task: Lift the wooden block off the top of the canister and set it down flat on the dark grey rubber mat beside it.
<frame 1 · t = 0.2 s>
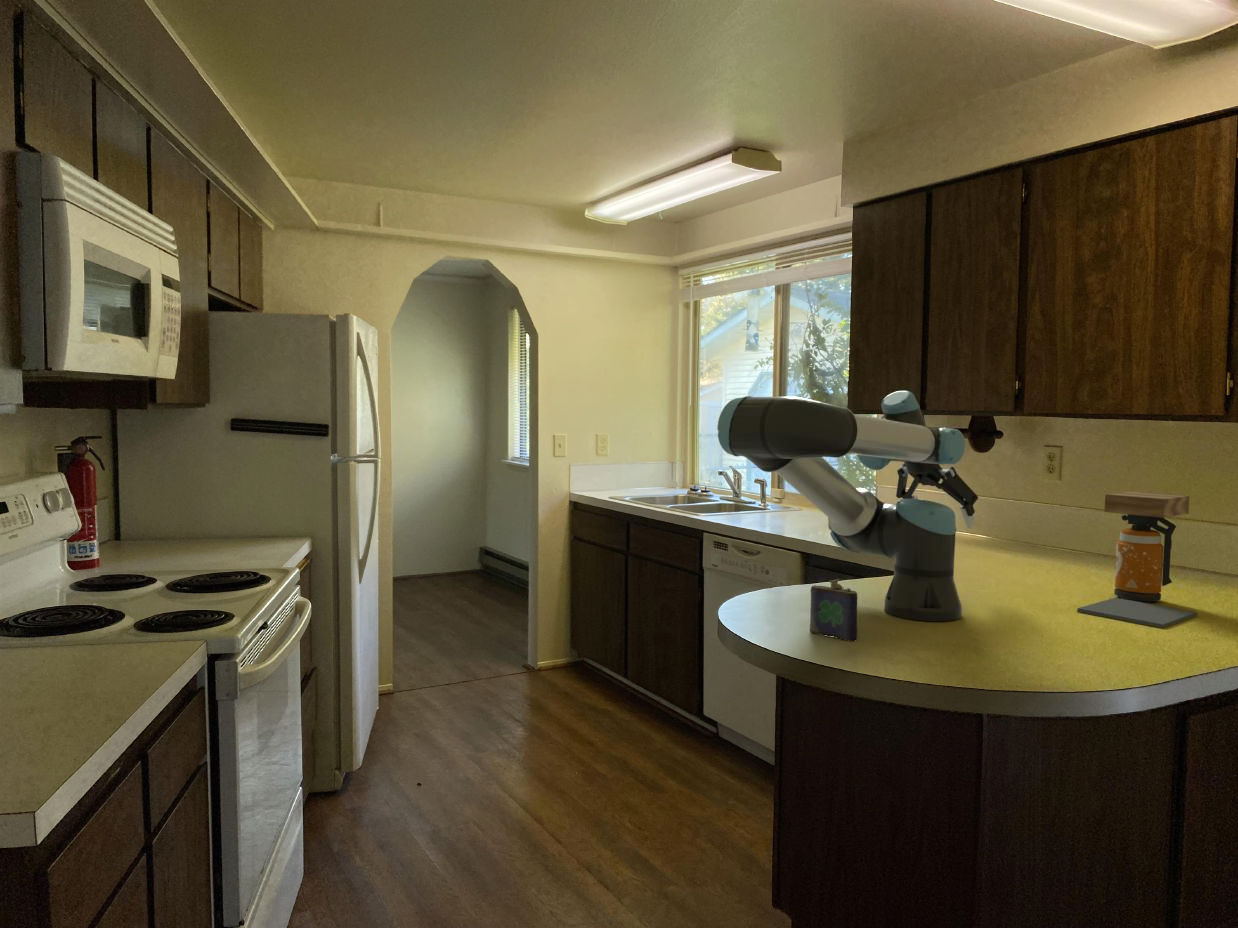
hand: (945, 521, 196), 16 cm above the countertop, tool tilted 35°, fingers open, 13 cm apart
mat: (1136, 613, 170), on the countertop
canister: (1142, 600, 184), on the countertop, touching wooden block
flask: (833, 637, 150), on the countertop
wooden block: (1146, 512, 183), point 20 cm above the countertop, touching canister
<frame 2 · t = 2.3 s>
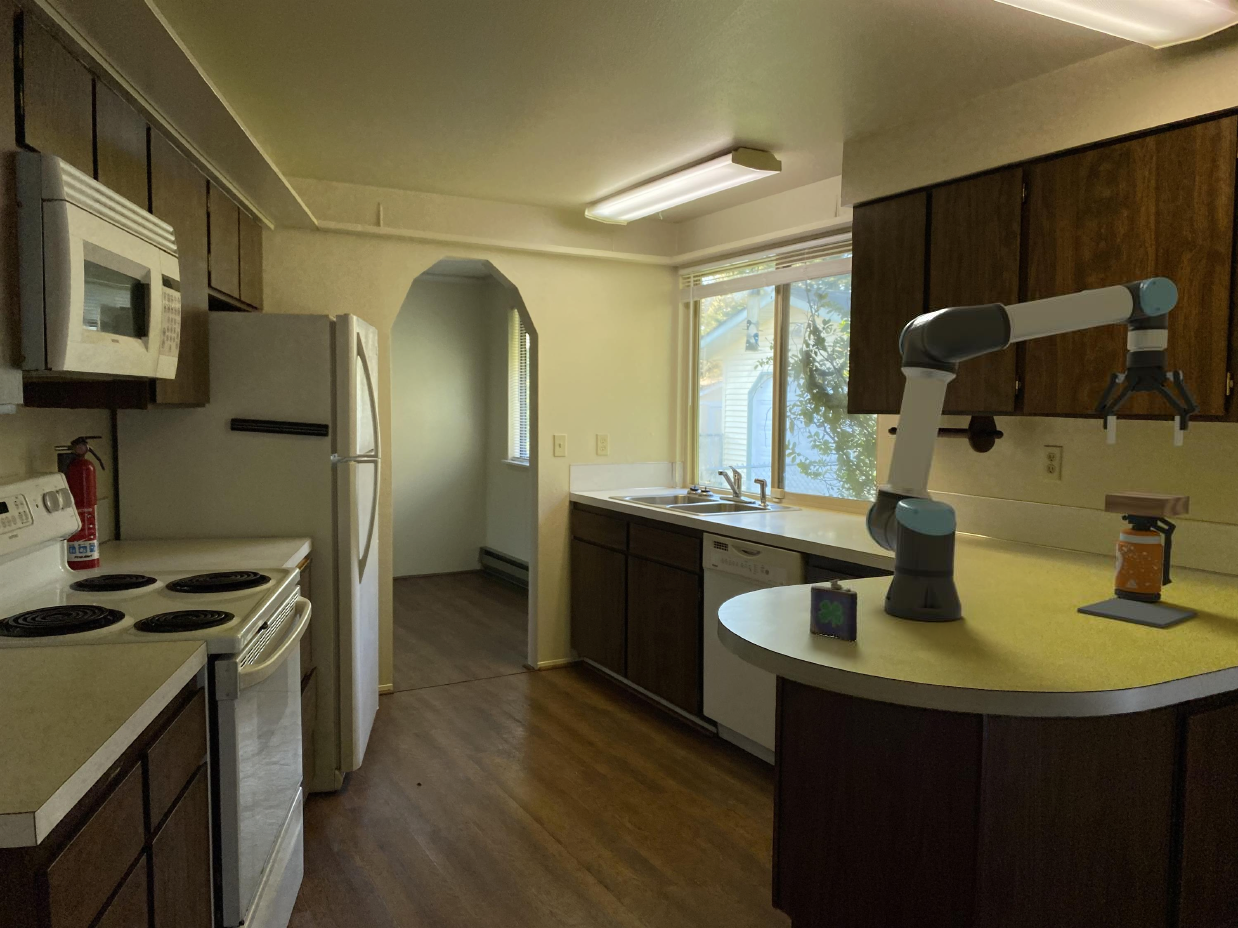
hand: (1143, 444, 182), 35 cm above the countertop, tool pointing down, fingers open, 13 cm apart
nothing on the countertop moved.
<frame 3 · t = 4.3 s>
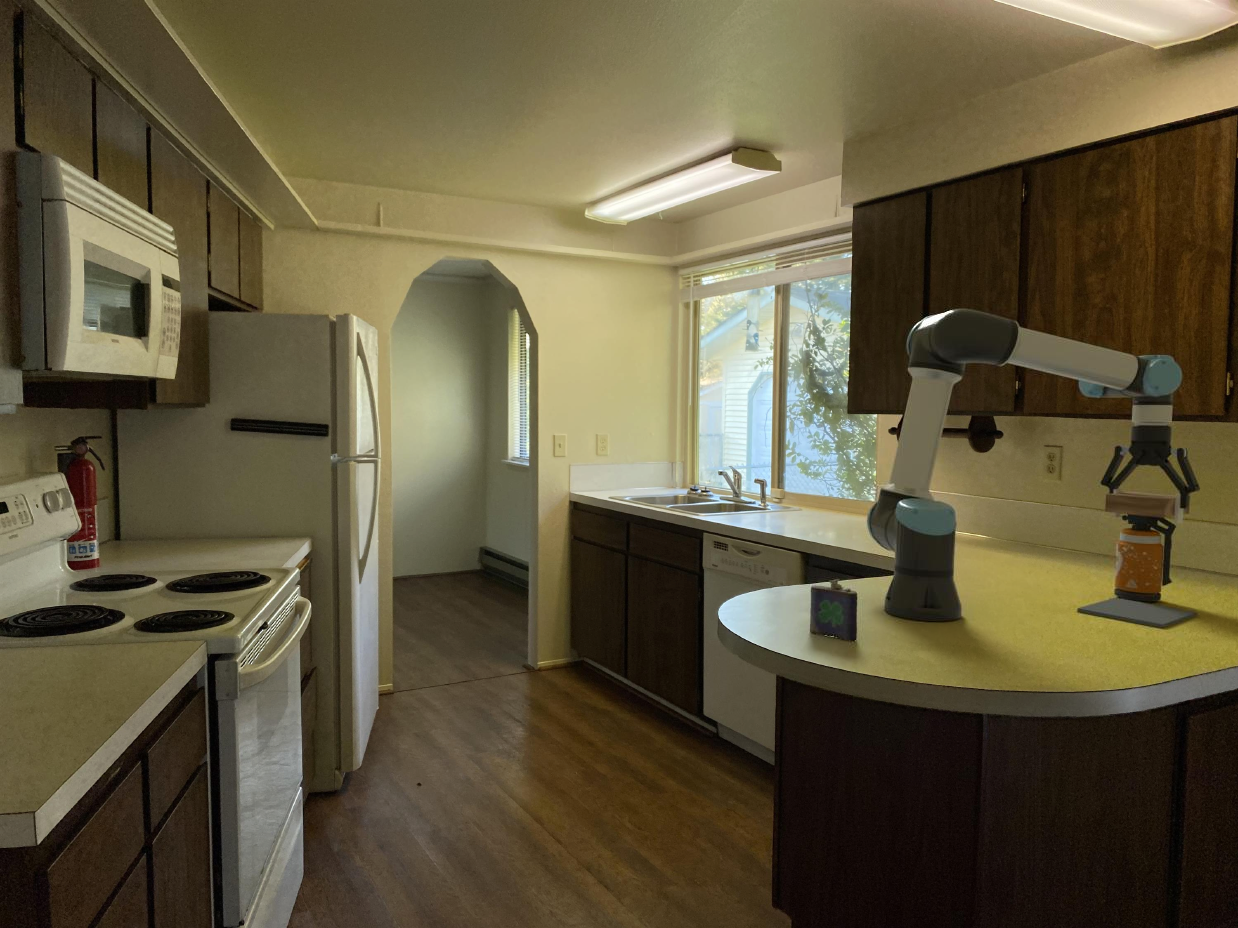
hand: (1146, 520, 183), 18 cm above the countertop, tool pointing down, fingers closed on wooden block, 12 cm apart
wooden block: (1146, 512, 182), point 20 cm above the countertop, touching canister, gripper
everything else where it was.
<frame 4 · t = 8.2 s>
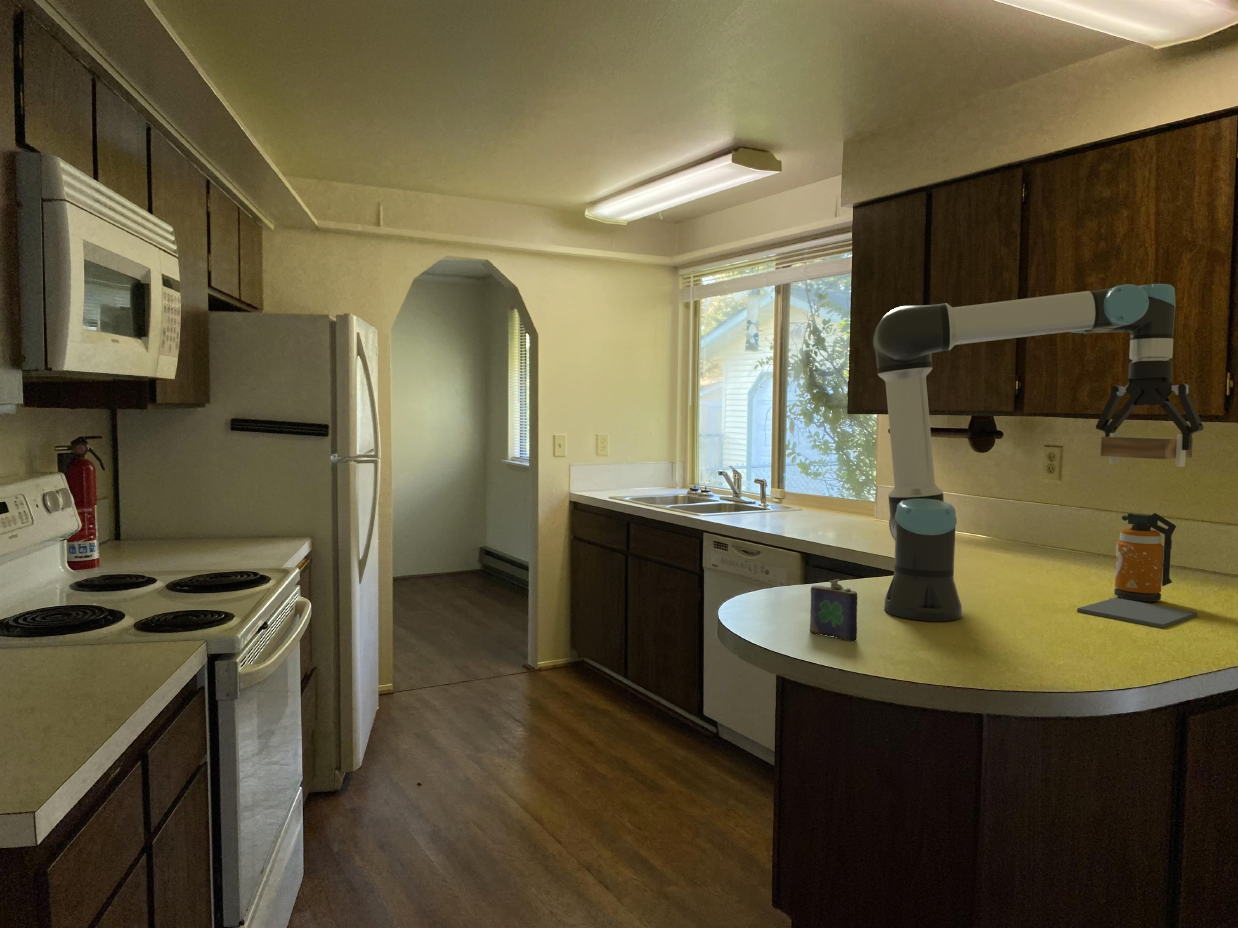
hand: (1145, 464, 168), 32 cm above the countertop, tool pointing down, fingers closed on wooden block, 12 cm apart
canister: (1142, 600, 184), on the countertop
wooden block: (1145, 456, 168), point 33 cm above the countertop, touching gripper
everything else where it was.
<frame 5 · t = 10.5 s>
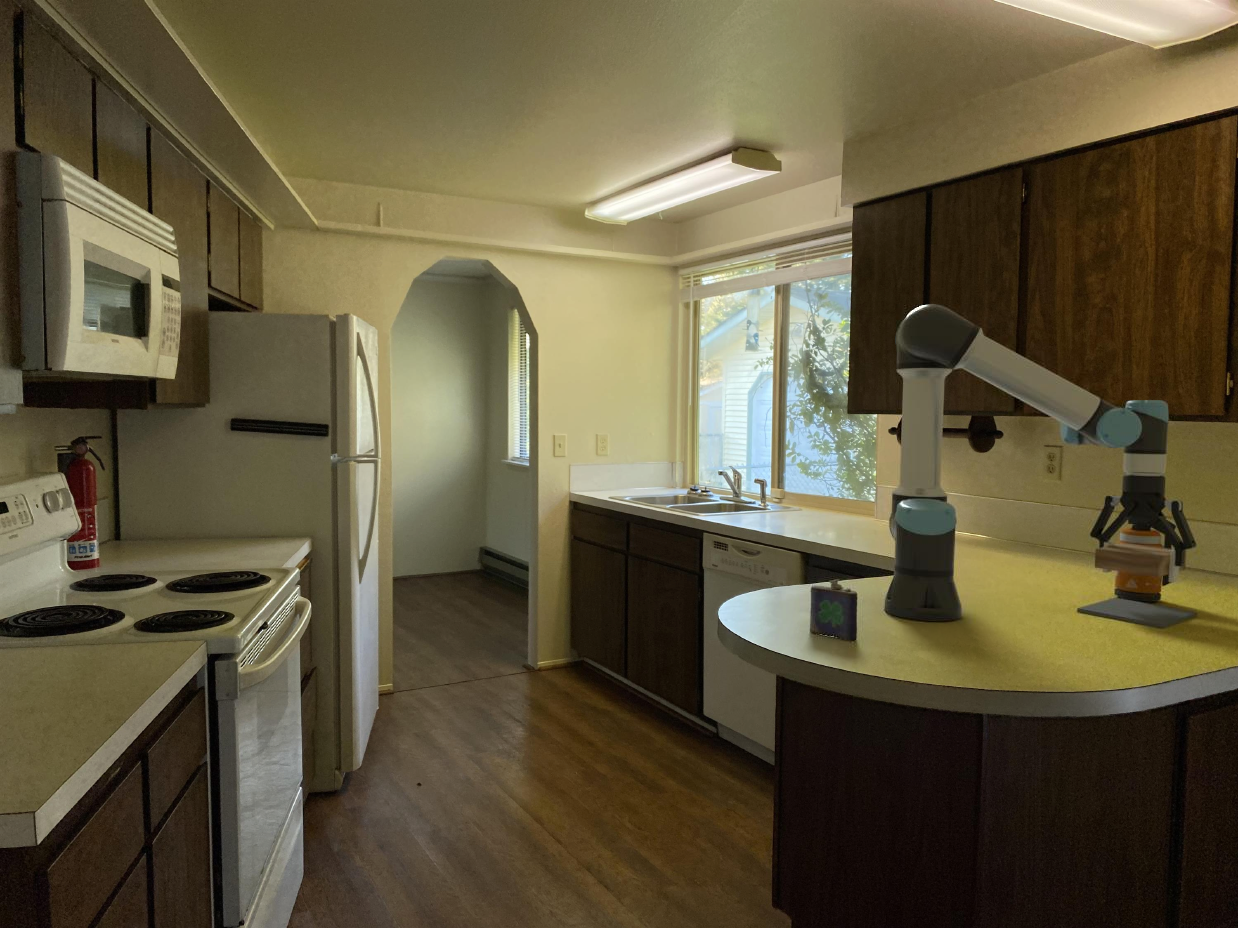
hand: (1139, 576, 170), 8 cm above the countertop, tool pointing down, fingers closed on wooden block, 12 cm apart
wooden block: (1139, 568, 170), point 10 cm above the countertop, touching gripper
everything else where it was.
when the fingers open (3 cm above the countertop, at t = 12.2 s): wooden block drops 4 cm, resting on mat.
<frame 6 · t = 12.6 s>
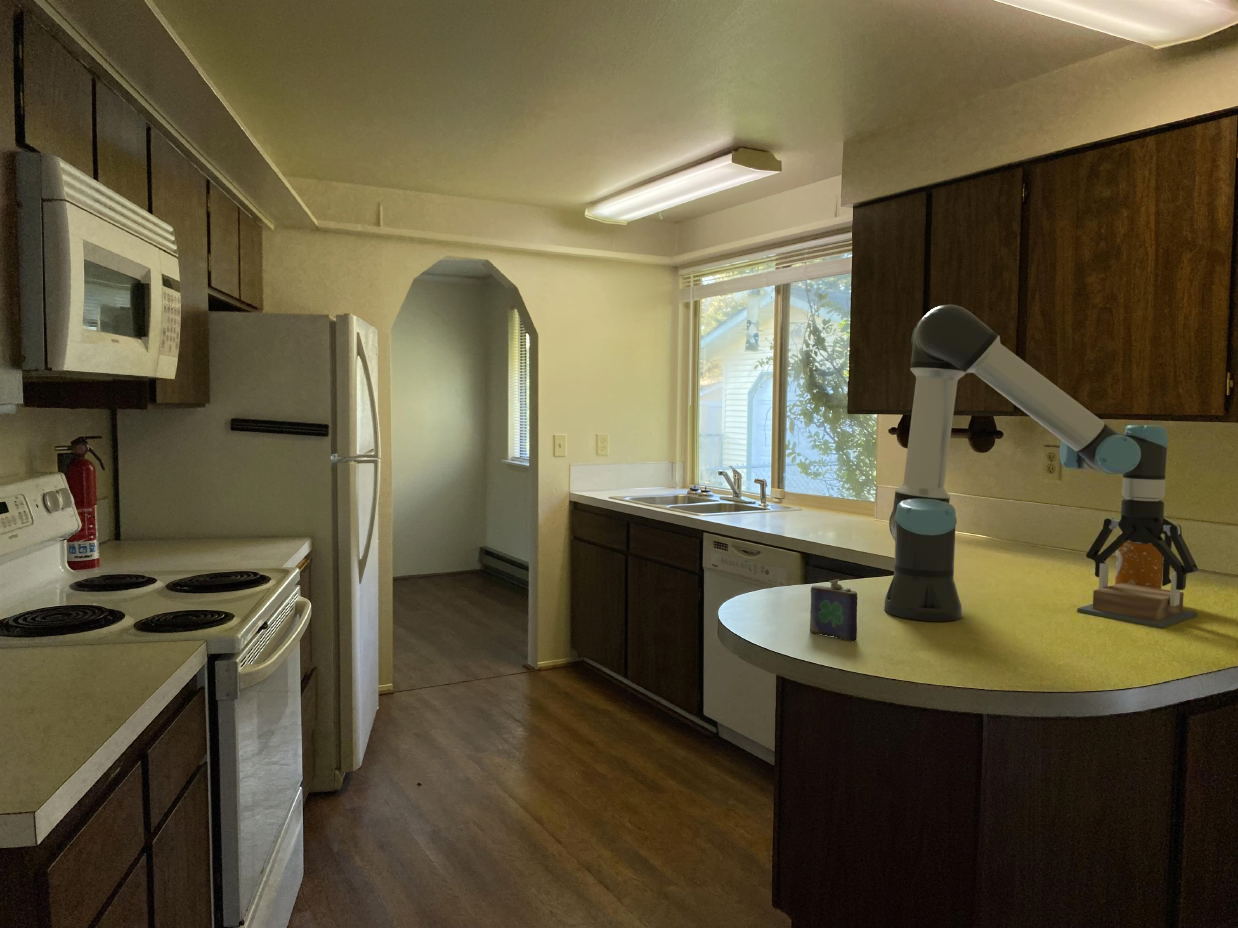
hand: (1137, 598, 170), 3 cm above the countertop, tool pointing down, fingers open, 13 cm apart
wooden block: (1137, 610, 170), point 1 cm above the countertop, touching mat
everything else where it was.
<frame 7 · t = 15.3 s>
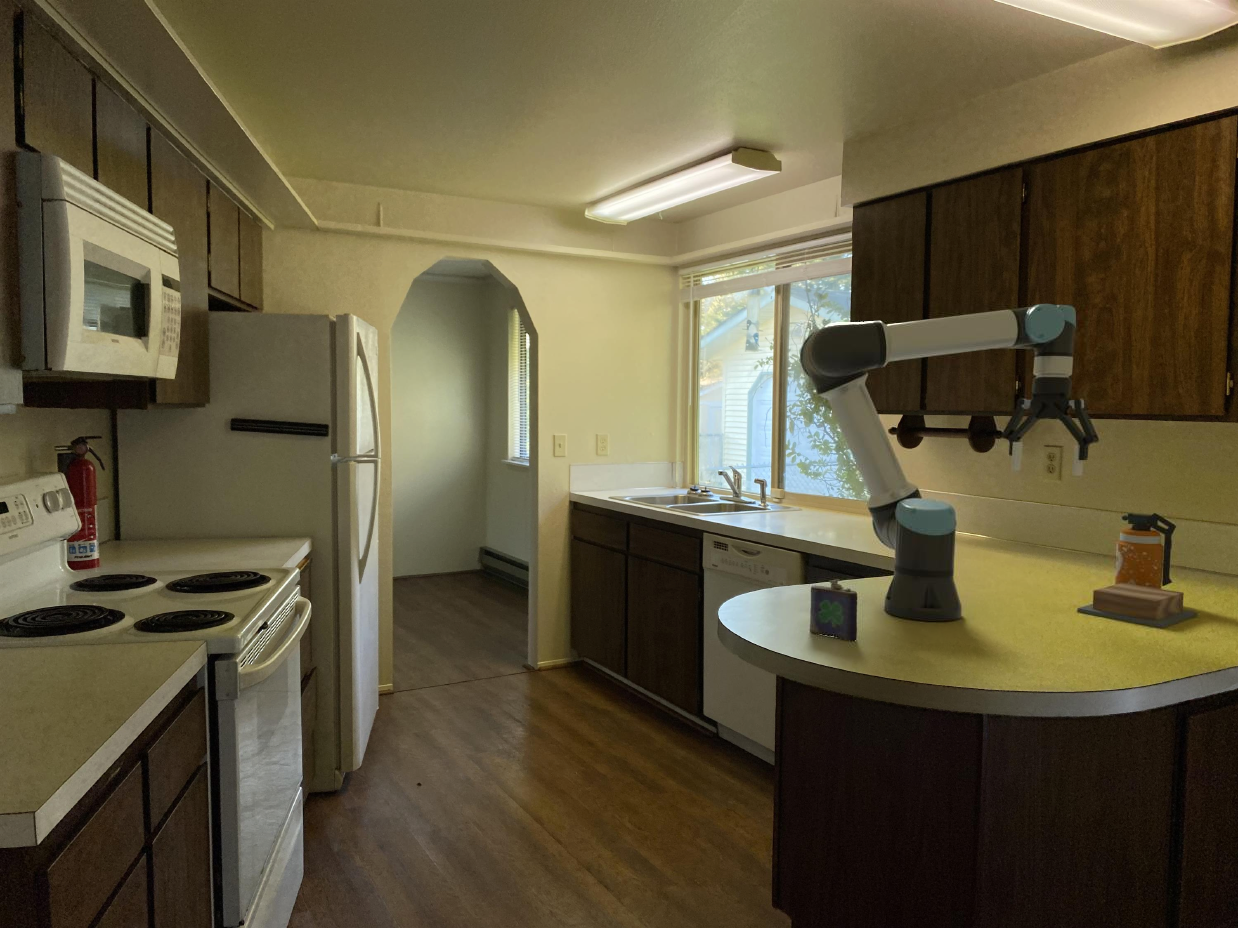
hand: (1045, 473, 179), 29 cm above the countertop, tool pointing down, fingers open, 13 cm apart
nothing on the countertop moved.
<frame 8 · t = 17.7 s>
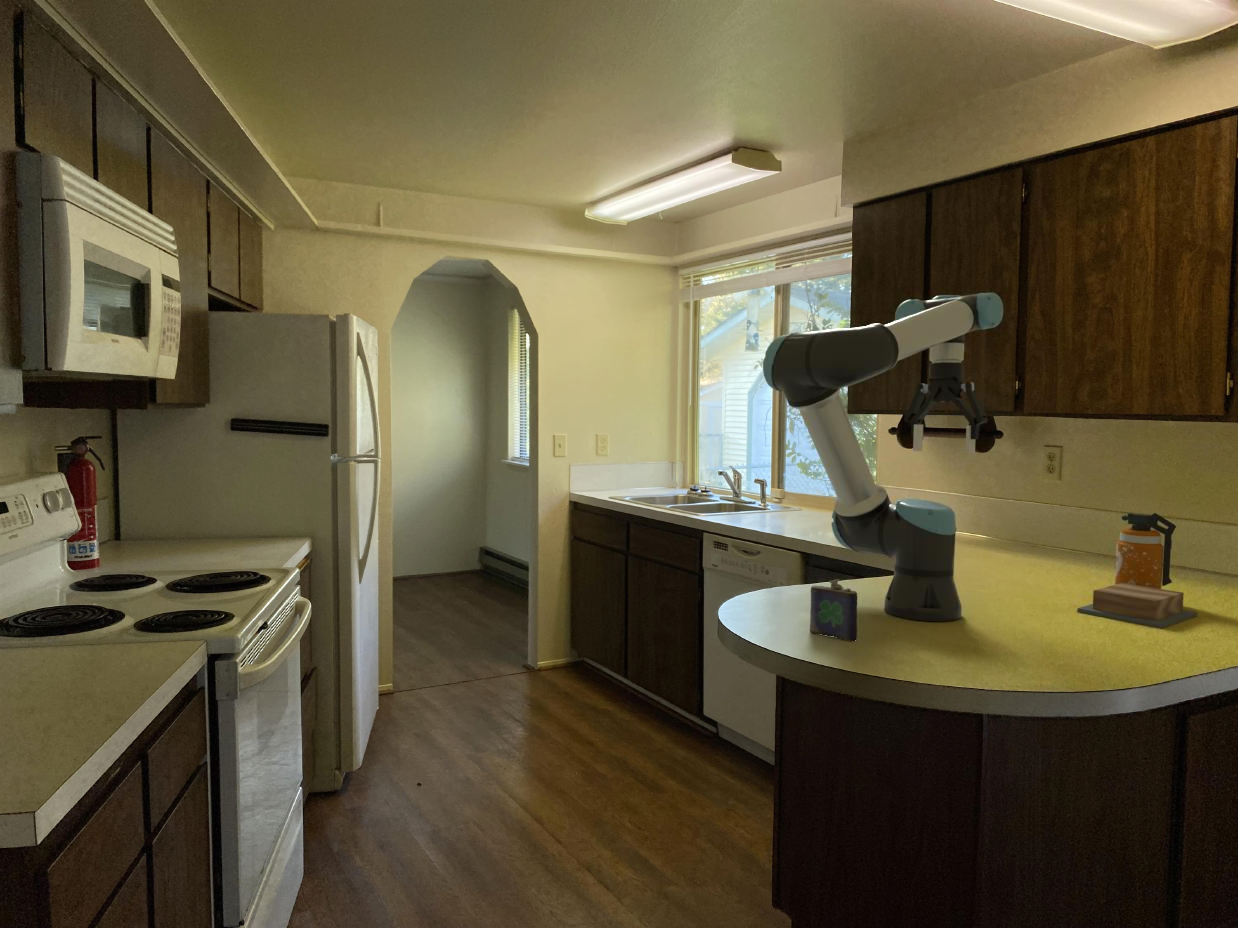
hand: (943, 452, 191), 33 cm above the countertop, tool pointing down, fingers open, 13 cm apart
nothing on the countertop moved.
at the end: wooden block inside the target area on the mat (0.1 cm from its centre), point 0.8 cm above the mat's base; canister moved 0.2 cm from its start; canister tilted 0° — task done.
